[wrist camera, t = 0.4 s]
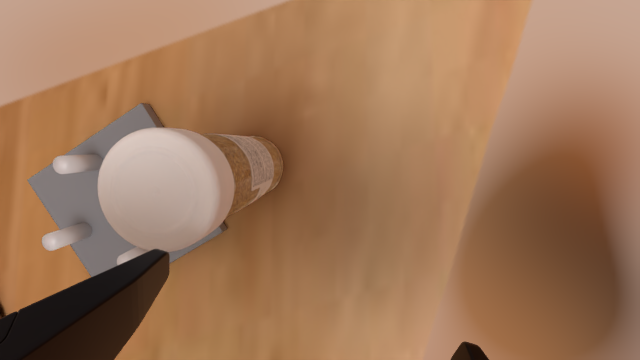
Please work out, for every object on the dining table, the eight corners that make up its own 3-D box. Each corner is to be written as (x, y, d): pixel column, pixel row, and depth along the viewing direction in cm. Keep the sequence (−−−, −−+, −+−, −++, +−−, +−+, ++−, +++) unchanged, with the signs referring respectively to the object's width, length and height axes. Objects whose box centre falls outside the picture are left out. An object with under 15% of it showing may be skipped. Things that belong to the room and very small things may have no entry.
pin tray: (115, 294, 27) (76, 321, 23) (39, 178, 26) (-16, 185, 22) (227, 228, 26) (205, 244, 22) (149, 104, 25) (112, 97, 21)
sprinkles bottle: (234, 201, 25) (112, 267, 12) (218, 142, 25) (74, 143, 12) (291, 188, 25) (232, 241, 12) (277, 128, 24) (197, 112, 11)
